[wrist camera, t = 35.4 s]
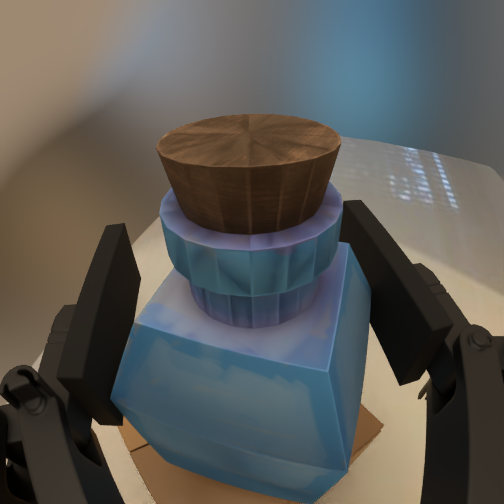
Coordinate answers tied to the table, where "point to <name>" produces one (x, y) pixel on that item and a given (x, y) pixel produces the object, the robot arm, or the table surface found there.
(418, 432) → the table surface
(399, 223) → the table surface
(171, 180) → the perfume bottle
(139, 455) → the carton
